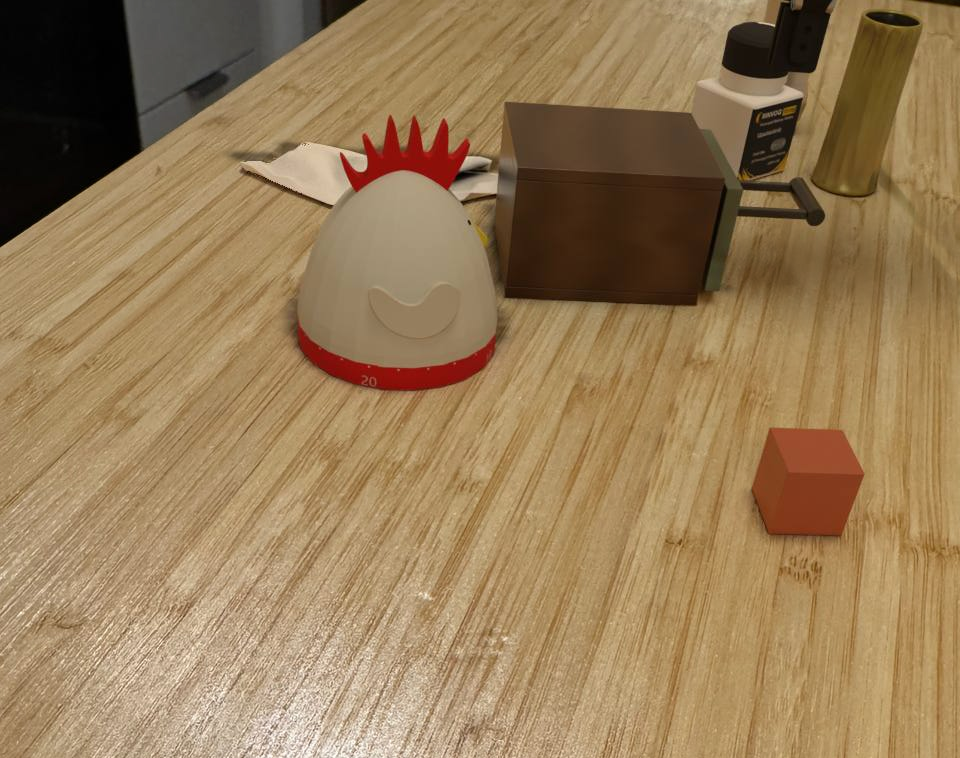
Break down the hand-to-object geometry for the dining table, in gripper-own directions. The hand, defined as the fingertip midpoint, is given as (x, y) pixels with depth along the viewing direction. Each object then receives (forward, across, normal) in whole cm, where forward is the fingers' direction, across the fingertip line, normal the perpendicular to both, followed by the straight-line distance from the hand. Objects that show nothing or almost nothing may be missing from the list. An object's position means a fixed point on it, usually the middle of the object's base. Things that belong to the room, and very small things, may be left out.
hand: (790, 67), depth 82 cm
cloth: (+16, +13, +29) cm, 35 cm away
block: (+15, -32, +4) cm, 36 cm away
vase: (+15, +19, -14) cm, 28 cm away
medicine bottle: (+16, +22, -4) cm, 27 cm away
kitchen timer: (+16, -13, +28) cm, 34 cm away
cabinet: (+15, 0, +12) cm, 20 cm away
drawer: (+15, 0, +6) cm, 16 cm away
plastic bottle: (+15, +33, -10) cm, 38 cm away
